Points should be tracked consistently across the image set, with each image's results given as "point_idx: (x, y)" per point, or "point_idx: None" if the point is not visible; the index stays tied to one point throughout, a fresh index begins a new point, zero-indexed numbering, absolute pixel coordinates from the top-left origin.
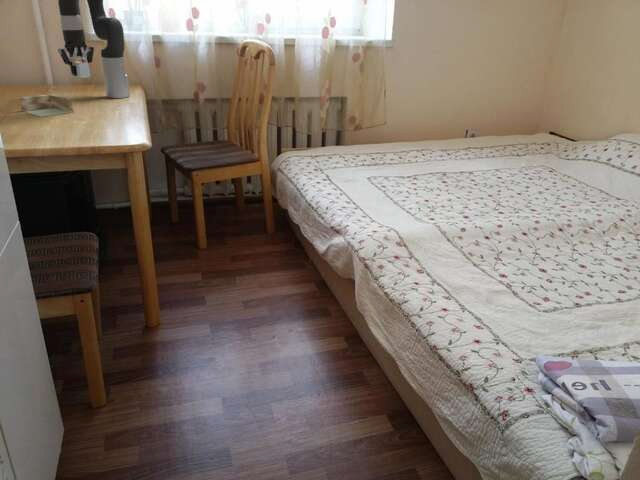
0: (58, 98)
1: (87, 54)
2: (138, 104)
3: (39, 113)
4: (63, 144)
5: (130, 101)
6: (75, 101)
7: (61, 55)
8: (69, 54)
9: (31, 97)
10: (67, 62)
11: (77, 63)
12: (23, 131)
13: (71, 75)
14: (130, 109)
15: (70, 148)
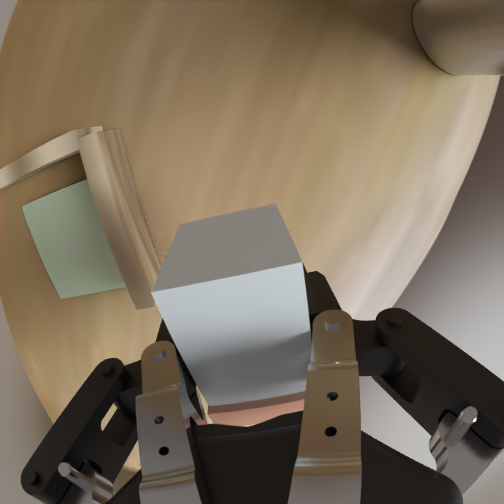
0: (107, 231)
1: (427, 385)
2: (432, 230)
3: (56, 258)
4: (125, 461)
5: (445, 155)
6: (260, 9)
7: (60, 442)
8: (146, 445)
9: (13, 181)
10: (123, 416)
11: (213, 421)
12: (56, 395)
13: (180, 230)
14: (363, 304)
15: (134, 470)
